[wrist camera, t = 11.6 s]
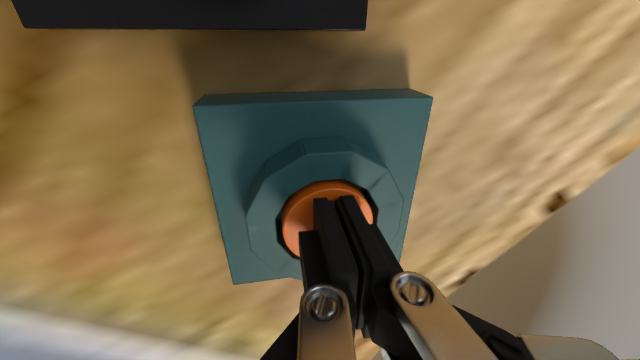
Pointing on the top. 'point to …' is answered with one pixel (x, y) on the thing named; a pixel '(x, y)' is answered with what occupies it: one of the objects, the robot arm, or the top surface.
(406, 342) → the robot arm
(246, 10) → the bracket
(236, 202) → the control block
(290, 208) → the button
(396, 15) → the top surface
